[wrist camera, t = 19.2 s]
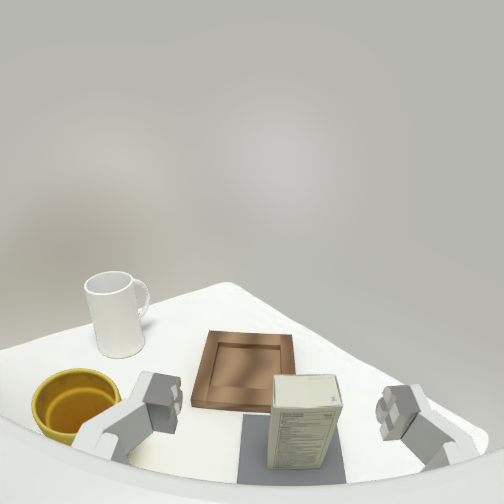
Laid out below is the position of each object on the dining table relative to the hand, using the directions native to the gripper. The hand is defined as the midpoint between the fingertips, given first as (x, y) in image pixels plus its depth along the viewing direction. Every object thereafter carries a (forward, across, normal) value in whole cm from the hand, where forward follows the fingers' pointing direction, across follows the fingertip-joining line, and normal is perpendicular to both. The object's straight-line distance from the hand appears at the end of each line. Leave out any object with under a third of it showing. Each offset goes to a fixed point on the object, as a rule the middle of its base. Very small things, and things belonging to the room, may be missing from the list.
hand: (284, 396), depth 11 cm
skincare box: (+11, -4, +24) cm, 27 cm away
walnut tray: (+27, +2, +25) cm, 36 cm away
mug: (+32, +22, +26) cm, 47 cm away
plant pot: (+9, +19, +25) cm, 33 cm away
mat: (+12, -4, +24) cm, 27 cm away
